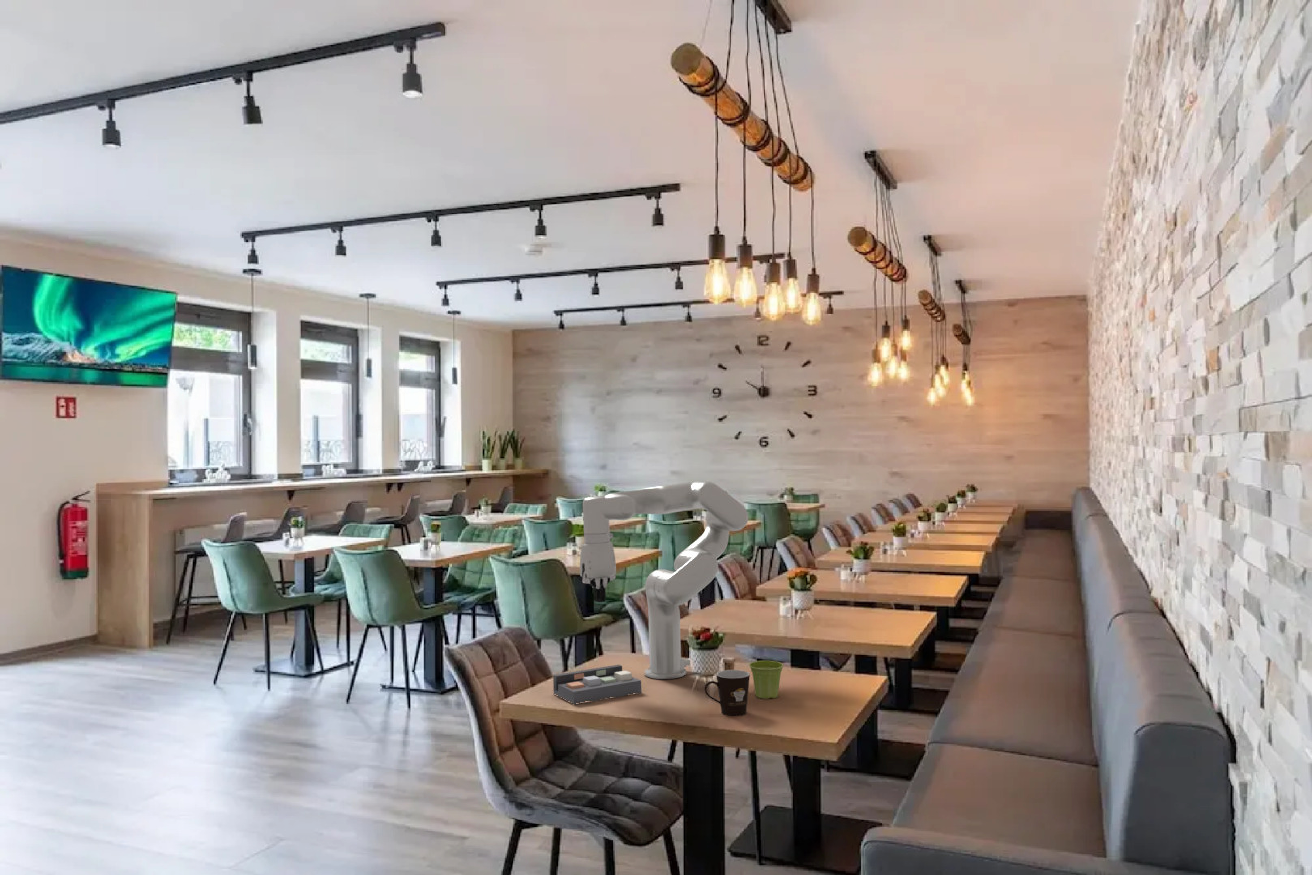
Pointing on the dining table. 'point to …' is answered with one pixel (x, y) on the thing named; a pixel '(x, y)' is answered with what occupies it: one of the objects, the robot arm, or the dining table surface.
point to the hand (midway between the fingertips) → (600, 601)
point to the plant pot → (766, 678)
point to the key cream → (623, 675)
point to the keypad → (597, 690)
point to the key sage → (607, 680)
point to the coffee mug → (732, 691)
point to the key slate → (591, 681)
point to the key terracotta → (575, 685)
